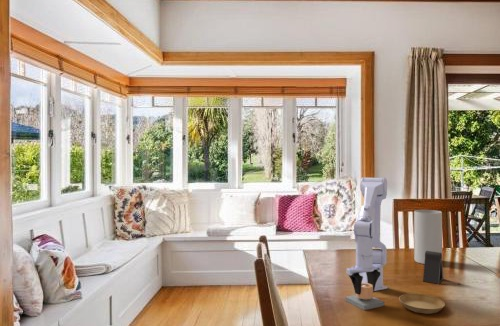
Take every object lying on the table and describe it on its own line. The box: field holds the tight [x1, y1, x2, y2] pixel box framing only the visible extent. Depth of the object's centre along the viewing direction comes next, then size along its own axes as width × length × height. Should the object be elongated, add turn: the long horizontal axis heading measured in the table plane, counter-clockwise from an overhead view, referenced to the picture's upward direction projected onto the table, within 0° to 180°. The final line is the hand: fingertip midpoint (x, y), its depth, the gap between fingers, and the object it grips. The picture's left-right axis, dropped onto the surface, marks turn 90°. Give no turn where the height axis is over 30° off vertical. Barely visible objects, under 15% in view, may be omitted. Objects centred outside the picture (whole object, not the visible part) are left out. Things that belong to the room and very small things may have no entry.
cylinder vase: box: [413, 209, 443, 265], centre depth 200 cm, size 12×12×25 cm
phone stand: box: [422, 251, 445, 285], centre depth 170 cm, size 9×6×12 cm, turn 141°
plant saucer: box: [398, 293, 446, 315], centre depth 140 cm, size 15×15×3 cm
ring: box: [355, 283, 374, 299], centre depth 145 cm, size 6×6×4 cm
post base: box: [345, 285, 385, 311], centre depth 145 cm, size 10×9×6 cm
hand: (364, 292), depth 145 cm, fingers closed on ring, 5 cm apart
